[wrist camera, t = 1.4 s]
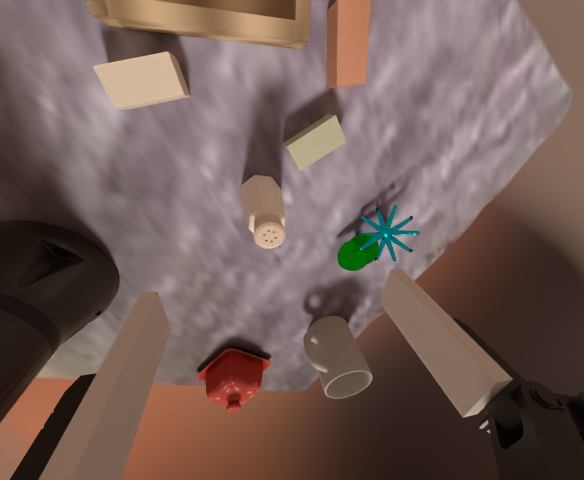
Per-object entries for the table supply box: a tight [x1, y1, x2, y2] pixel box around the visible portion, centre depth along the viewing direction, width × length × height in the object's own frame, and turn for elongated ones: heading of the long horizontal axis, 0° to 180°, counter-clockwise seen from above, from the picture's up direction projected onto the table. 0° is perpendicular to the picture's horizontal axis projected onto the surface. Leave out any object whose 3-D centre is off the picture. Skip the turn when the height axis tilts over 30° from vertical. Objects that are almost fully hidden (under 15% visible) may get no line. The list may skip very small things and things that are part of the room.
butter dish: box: [196, 348, 271, 413], centre depth 42 cm, size 12×12×8 cm
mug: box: [304, 315, 372, 398], centre depth 40 cm, size 12×8×11 cm
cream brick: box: [93, 52, 190, 109], centre depth 20 cm, size 6×3×3 cm, turn 101°
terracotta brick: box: [327, 0, 371, 88], centre depth 21 cm, size 6×3×3 cm, turn 5°
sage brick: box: [282, 114, 346, 171], centre depth 25 cm, size 6×3×3 cm, turn 119°
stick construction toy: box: [338, 205, 420, 271], centre depth 33 cm, size 12×7×8 cm
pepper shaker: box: [241, 175, 286, 249], centre depth 24 cm, size 5×5×11 cm
